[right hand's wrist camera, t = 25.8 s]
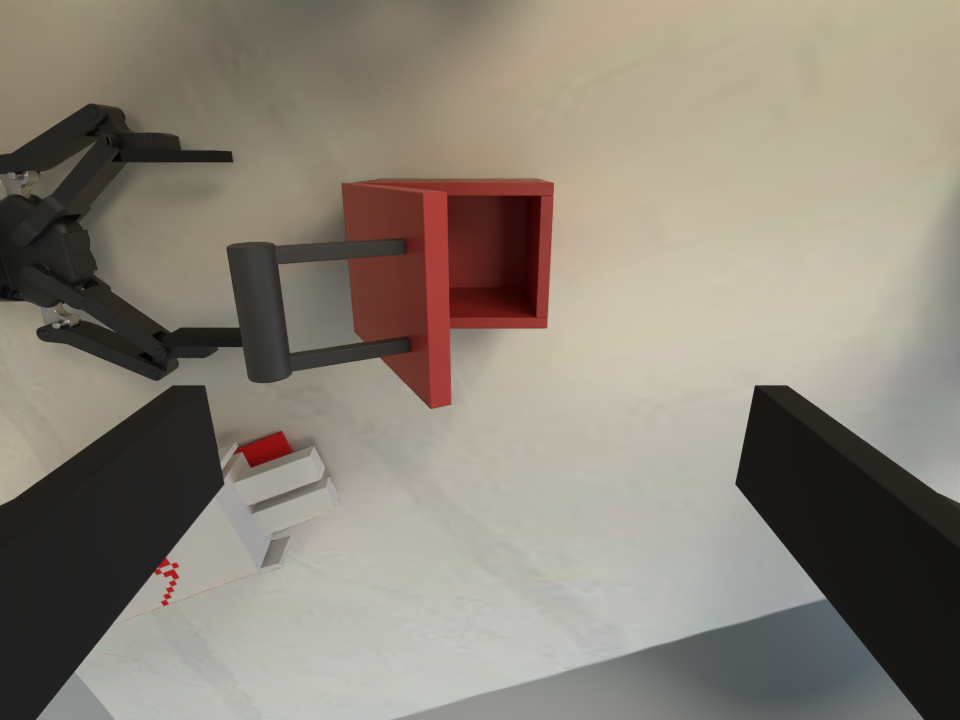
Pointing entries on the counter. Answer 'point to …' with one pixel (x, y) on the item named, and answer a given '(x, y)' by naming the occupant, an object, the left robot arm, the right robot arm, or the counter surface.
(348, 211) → the lid
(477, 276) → the chest
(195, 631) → the counter surface
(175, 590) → the toy
